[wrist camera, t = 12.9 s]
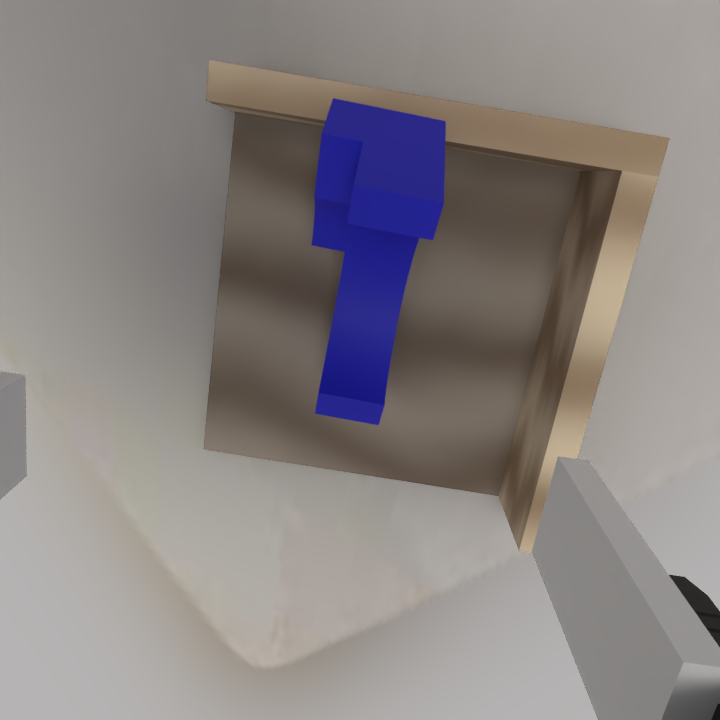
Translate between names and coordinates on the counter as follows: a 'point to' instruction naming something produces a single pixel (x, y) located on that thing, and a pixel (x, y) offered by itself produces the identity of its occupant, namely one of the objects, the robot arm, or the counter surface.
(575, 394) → the corner board
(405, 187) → the cable clip
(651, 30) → the counter surface
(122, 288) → the counter surface
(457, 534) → the counter surface
